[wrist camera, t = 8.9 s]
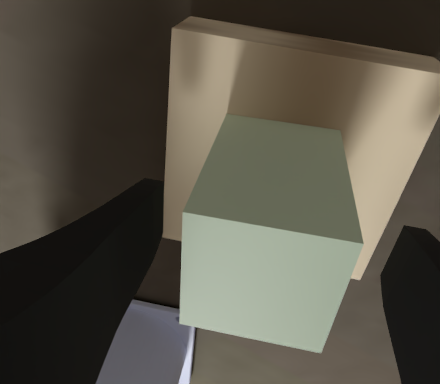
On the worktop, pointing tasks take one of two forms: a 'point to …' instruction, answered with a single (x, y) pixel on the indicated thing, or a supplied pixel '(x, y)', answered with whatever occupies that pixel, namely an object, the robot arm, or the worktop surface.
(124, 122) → the worktop surface
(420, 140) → the birch block
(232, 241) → the green block
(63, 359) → the robot arm
